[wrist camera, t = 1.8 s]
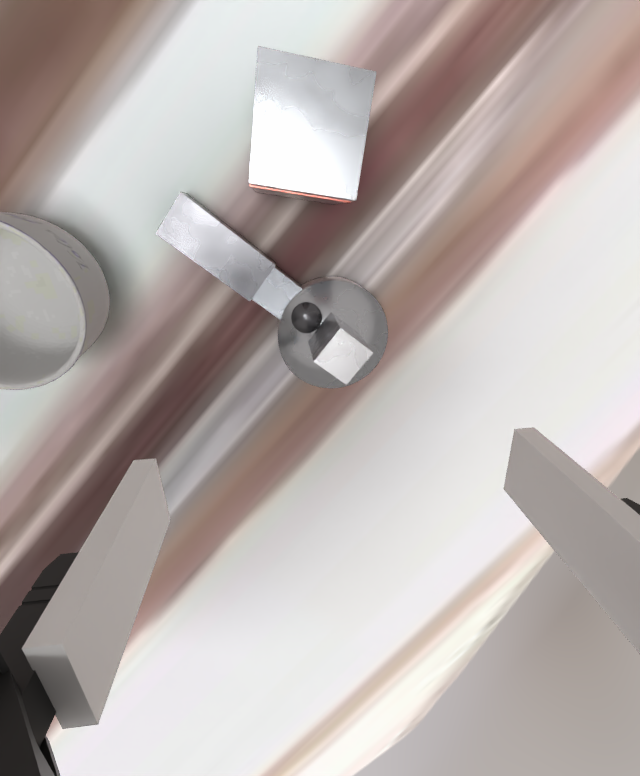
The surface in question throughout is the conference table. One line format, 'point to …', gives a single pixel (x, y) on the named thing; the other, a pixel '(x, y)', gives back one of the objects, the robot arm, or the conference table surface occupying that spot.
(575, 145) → the conference table surface
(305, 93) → the red-striped grey block
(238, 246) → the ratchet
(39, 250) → the teacup
